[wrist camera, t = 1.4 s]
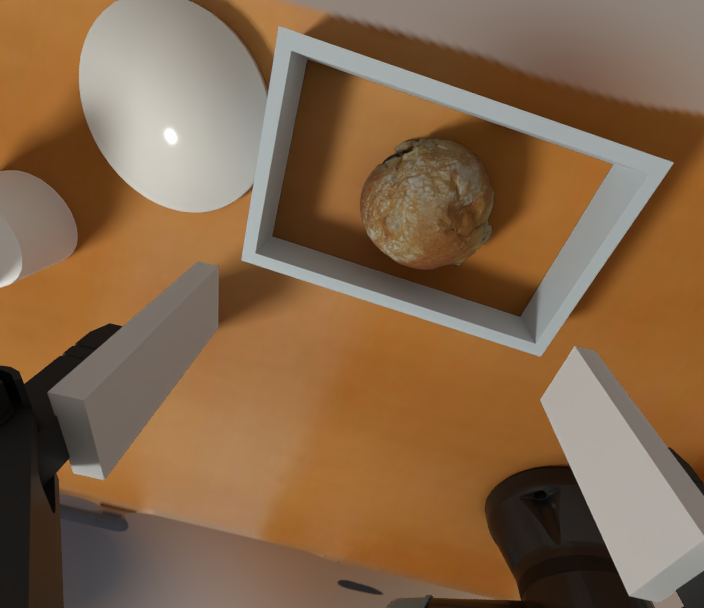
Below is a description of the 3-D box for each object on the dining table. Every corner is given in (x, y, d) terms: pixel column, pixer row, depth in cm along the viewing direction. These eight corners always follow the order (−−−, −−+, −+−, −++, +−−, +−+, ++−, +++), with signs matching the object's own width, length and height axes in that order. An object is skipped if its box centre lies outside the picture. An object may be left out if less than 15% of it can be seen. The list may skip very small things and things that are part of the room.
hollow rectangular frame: (634, 154, 27) (674, 162, 23) (524, 328, 35) (540, 356, 31) (297, 38, 26) (278, 25, 22) (259, 242, 34) (241, 260, 30)
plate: (290, 36, 26) (285, 33, 25) (256, 231, 34) (251, 235, 32) (85, -35, 26) (71, -41, 25) (94, 178, 33) (84, 180, 32)
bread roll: (451, 126, 31) (433, 85, 24) (523, 225, 30) (528, 214, 23) (361, 201, 35) (322, 186, 28) (421, 292, 34) (397, 301, 26)
